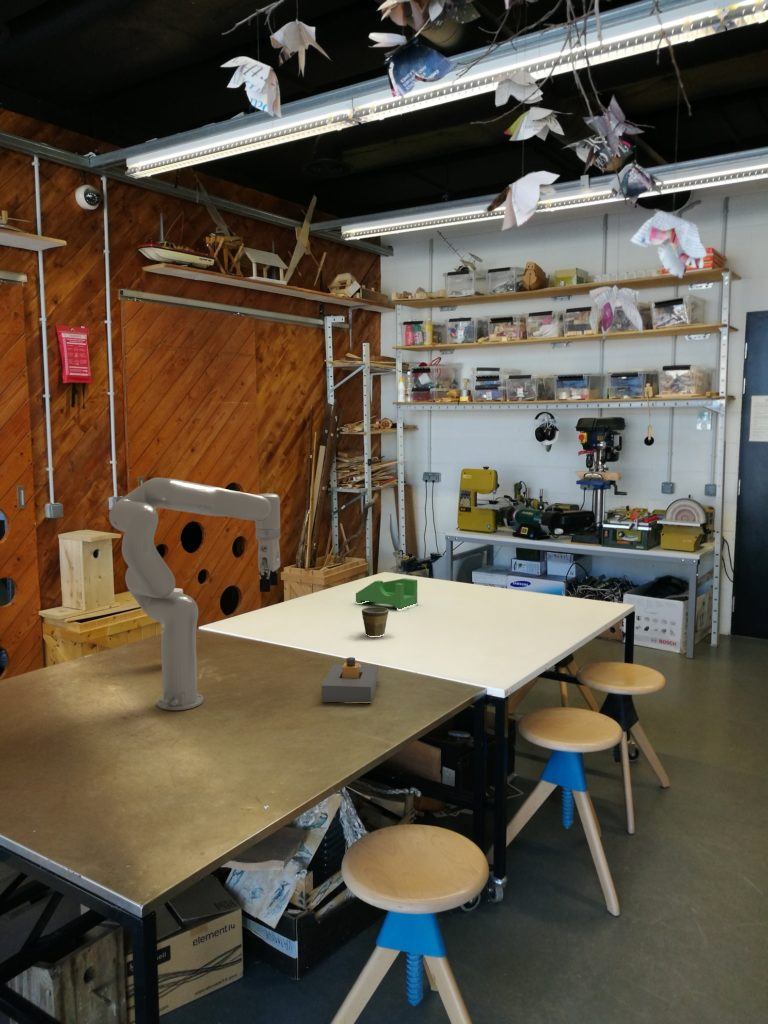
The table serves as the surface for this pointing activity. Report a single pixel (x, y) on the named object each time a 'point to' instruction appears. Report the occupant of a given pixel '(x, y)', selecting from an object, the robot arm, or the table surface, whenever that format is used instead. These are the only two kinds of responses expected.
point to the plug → (350, 669)
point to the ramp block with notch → (390, 593)
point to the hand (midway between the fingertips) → (268, 588)
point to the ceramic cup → (375, 620)
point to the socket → (350, 685)
